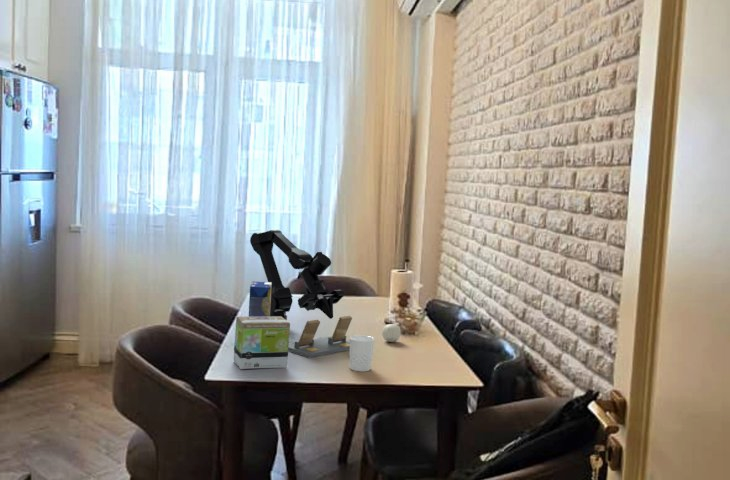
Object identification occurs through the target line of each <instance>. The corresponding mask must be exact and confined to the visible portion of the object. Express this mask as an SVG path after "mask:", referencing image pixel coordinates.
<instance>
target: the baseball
mask: <svg viewBox="0 0 730 480" xmlns="http://www.w3.org/2000/svg"><path fill="white" fill-rule="evenodd" d="M381 332H382V334H381V335H382V338H383V340H385V341H386V342H387V343H395V342H398V340H399V339H400V337H401V335H402V334H401V329H400V327H399V326H398V325H397V324H394V323H388V324H386V325H384V327H383V328H382V331H381Z"/></svg>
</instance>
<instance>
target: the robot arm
mask: <svg viewBox="0 0 730 480" xmlns="http://www.w3.org/2000/svg"><path fill="white" fill-rule="evenodd" d="M249 241H250V245H251V248H252V249H253V251H254V252H255V253H256V254H257V255H258V256H259V258H260V260H261V261H260V262H261V264H262V267H263V271H264V273H265V276H266V277H265V278H266V280H267V282H272V290H271V309H270V316H282V317H283V318H284V319H285V320H287V321H288V315H287V313H289V312H290V311H291V308H292V304H293V303H294V302H293V295H292V292H291V288H290V287H285V285H284V284H283V283H282V279H281V275H280V273H279V269H278V267H277V264H276V261H275V258H274V255H273V248H274V245H275V246H276V247H277V248H278V249H279V250H280V251H281V252H282V253H284V255H286V256H287V258H288V262H289V263H290V265H291V267H292V268H293V269H295V270H302V271H298V275H297V277H296V278H297V280H302V281H303V283H304V285H305V287H306V288H305V293H304V294H303V295H302V296H301V297H299V298H298V299H297V304H298V307H299V308H300V309H305V310H306V311H307V312H309V311H314V310H315V311H316V309H317V310H320V311H321V312H322V313H323V314H324V315H325V316H327V317H328V319H330V320H331V319H332V320H333V318H334V305H335V304H337V303H338V302H339V301H340V300H342V298H344V296H346V295H345V292H344V291H343V290H342V289H334V290H332V291H331V292H330V290H329V288H326V287H325V286H324V283H325V281H324V279H321V278H320V276H322V275H323V274H324V272H326V270H328V269H329V267H330V266H331V264H332V261H331V259H330V257H328V256H327V255H326V254H324V253H323V252H322V251H317V252H316V253H315V255H313V257H312V254H310V253H309V252H307V251H305V250H303V249H300V248H298V247H297V246H296V245H295V244H294V243H292V241H291V240H290V239H288V238H287V237H286V236H285V234H283V233H282V231H281V230H279V229H271V230H267V231H264V232H254V233H252V234H251V236H250V239H249ZM329 292H330V293H329ZM328 293H329V294H328Z"/></svg>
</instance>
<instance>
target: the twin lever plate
mask: <svg viewBox="0 0 730 480" xmlns="http://www.w3.org/2000/svg"><path fill="white" fill-rule="evenodd" d="M332 336H333V335H331V336H325V337H320V338H315V339H314V338H313V340H312V343H311V344H310V345H307V346H301V347H300V342H299V341H294V342H293V343H292V342H291V343H289V345H288V352H289V353H293V354H297V355H299V356H302V357H304V358H305V357H306V358H307V359H308V358H309V359H311V358H316V357H319V356H325V355H330V354H334V353H335V354H336V353H339V352H344V351H349V349H350V340H347V335H345V337H344V339H343V341H338V342H333V338H332Z"/></svg>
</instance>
